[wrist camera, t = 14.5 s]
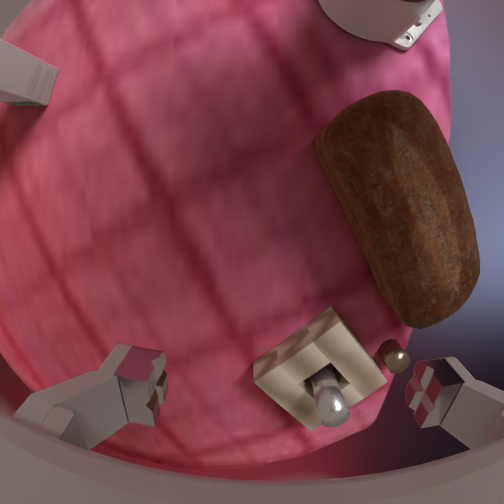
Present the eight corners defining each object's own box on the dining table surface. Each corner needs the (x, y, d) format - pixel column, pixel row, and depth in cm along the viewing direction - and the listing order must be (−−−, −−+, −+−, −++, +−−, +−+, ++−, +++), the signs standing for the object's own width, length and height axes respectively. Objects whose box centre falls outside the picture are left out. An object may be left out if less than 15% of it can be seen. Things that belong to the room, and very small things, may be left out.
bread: (381, 94, 34) (426, 69, 22) (452, 269, 40) (500, 296, 28) (294, 135, 36) (313, 117, 24) (381, 315, 42) (418, 358, 30)
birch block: (330, 306, 41) (340, 321, 36) (376, 364, 44) (387, 381, 39) (253, 361, 43) (253, 382, 38) (306, 410, 46) (311, 430, 41)
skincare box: (16, 106, 34) (-50, 94, 18) (27, 69, 32) (-34, 47, 17) (50, 106, 34) (-20, 88, 19) (62, 66, 33) (-2, 36, 17)
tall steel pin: (321, 350, 43) (340, 402, 31) (334, 364, 44) (354, 416, 32) (301, 364, 43) (315, 418, 32) (315, 377, 44) (330, 431, 32)
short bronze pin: (393, 334, 42) (404, 349, 38) (401, 348, 43) (413, 362, 39) (374, 349, 43) (384, 364, 39) (384, 362, 44) (394, 377, 39)
